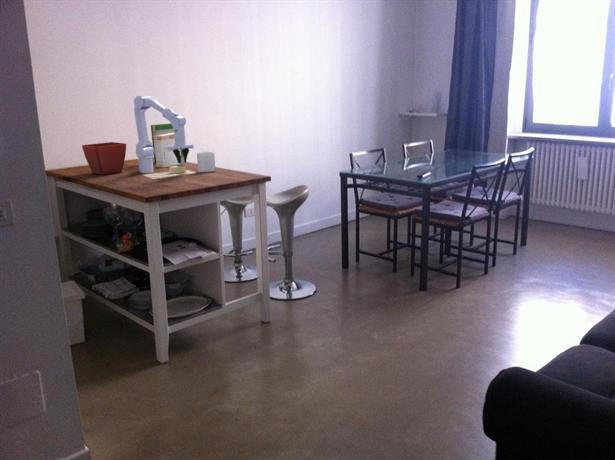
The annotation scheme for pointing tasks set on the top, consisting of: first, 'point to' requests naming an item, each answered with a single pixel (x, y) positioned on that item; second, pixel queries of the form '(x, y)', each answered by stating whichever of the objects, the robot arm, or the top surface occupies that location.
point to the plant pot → (105, 157)
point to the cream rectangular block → (177, 169)
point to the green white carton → (160, 130)
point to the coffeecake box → (165, 150)
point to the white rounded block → (206, 161)
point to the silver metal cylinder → (182, 160)
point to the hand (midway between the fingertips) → (182, 162)
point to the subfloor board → (167, 174)
